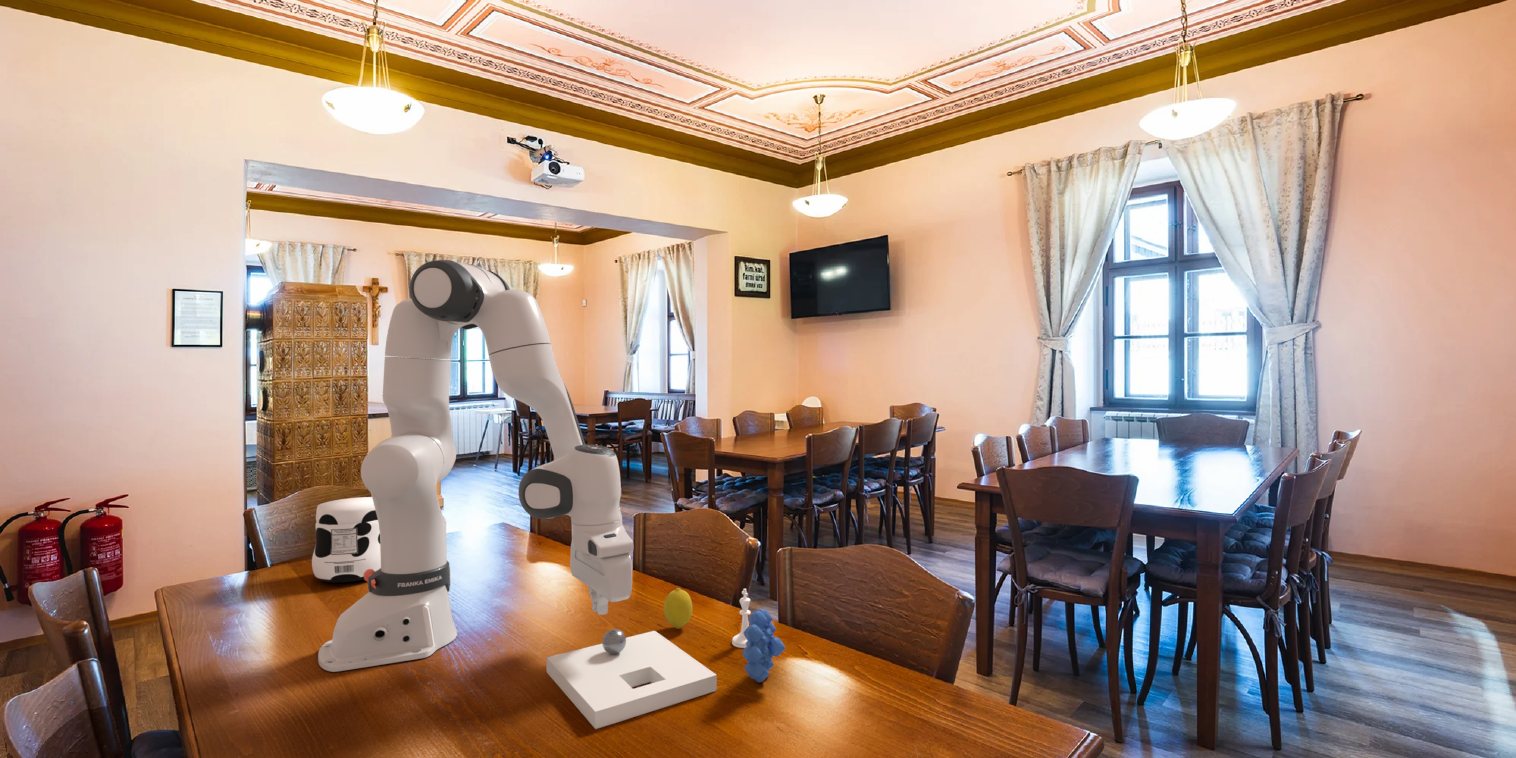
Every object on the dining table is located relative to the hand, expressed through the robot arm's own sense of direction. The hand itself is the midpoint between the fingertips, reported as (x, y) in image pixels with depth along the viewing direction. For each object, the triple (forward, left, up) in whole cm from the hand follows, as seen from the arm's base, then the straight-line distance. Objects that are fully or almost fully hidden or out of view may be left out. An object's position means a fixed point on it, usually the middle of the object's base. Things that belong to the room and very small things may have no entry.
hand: (600, 612), depth 124 cm
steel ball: (-1, -8, -3) cm, 8 cm away
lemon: (+16, +1, -7) cm, 18 cm away
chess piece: (+23, -12, -7) cm, 27 cm away
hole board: (-1, -14, -7) cm, 15 cm away
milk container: (-33, +76, -7) cm, 83 cm away
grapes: (+17, -27, -7) cm, 33 cm away
